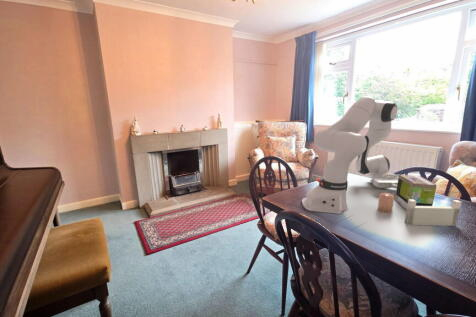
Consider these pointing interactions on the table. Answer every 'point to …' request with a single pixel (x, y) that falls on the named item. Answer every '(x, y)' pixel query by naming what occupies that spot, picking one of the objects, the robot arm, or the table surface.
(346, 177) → the robot arm
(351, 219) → the table surface
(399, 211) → the table surface
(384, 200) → the tan small cylinder
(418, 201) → the tea box
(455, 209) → the display rail
